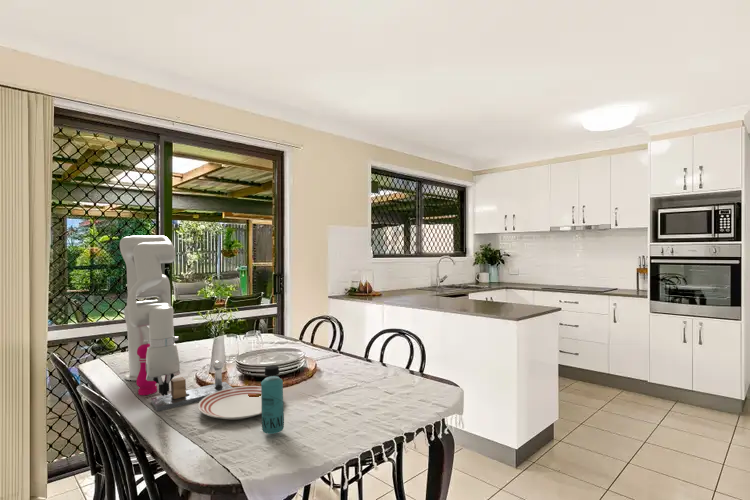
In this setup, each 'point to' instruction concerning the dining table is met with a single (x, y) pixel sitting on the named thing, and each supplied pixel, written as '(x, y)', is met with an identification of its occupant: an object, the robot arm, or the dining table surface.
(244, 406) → the dinner plate
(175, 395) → the block
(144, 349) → the pepper mill
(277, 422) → the beverage bottle
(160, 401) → the plate
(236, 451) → the dining table surface
